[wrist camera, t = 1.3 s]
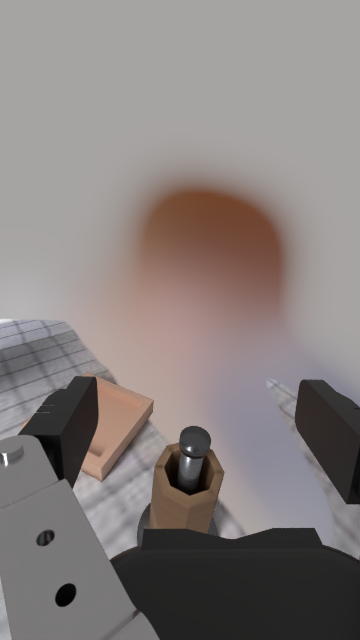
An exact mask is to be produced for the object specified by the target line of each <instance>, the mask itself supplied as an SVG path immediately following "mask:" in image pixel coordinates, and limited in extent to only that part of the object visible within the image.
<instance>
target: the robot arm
mask: <svg viewBox="0 0 360 640" xmlns="http://www.w3.org/2000/svg"><path fill="white" fill-rule="evenodd" d="M98 419H99V408H98V389H97V379H96V377H94V376H75V377H74V379H73V380H72V381H71V383H70V384H69V386H68V387H67V388H66V389H59V390H57V391H56V392H54V393H53V394H51V395H49V396H48V397H47V399H46V400H45V401H44V402H43V404H42V406H40V408H39V409H38V410H37V411H36V413H35V414H34V415H33V416H32V418H31V419H30V420H29V421H28V423H27V424H26V425H25V426H24V428H23V429H22V430H21V431H20V433H19V434H18V435H17V436H12V437H9V438H5V439H3V440H1V441H0V577H1V582H2V588H3V593H4V599H5V604H6V610H7V615H8V621H9V626H10V632H11V637H12V640H360V558H359V560H358V559H356V558H354V557H352V556H351V555H348V554H346V553H344V552H342V551H340V550H337V549H334V548H332V547H329V546H325V545H323V544H322V542H321V540H320V538H319V536H318V534H317V532H316V530H315V528H272V529H269V530H265V531H262V532H258V533H255V534H251V535H248V536H244V537H241V538H238V539H226V538H222V537H218V536H214V535H210V534H206V533H202V532H198V531H194V530H190V529H143V538H142V545H140V546H136V547H133V548H131V549H128V550H126V551H124V552H122V553H120V554H118V555H117V556H115V557H113V558H112V559H110V560H109V559H108V557H107V555H106V553H105V551H104V549H103V547H102V545H101V543H100V542H99V540H98V538H97V536H96V534H95V532H94V530H93V528H92V526H91V524H90V523H89V521H88V519H87V517H86V515H85V513H84V511H83V509H82V507H81V505H80V504H79V502H78V500H77V498H76V496H75V494H74V492H73V490H72V489H73V487H74V484H75V482H76V479H77V477H78V474H79V472H80V469H81V467H82V464H83V462H84V459H85V457H86V454H87V452H88V449H89V447H90V444H91V442H92V439H93V437H94V434H95V432H96V429H97V425H98ZM295 423H296V427H297V430H298V432H299V433H300V435H301V436H302V438H303V439H304V441H305V442H306V444H307V445H308V447H309V448H310V450H311V451H312V453H313V455H314V456H315V458H316V459H317V461H318V462H319V464H320V465H321V467H322V468H323V470H324V471H325V473H326V474H327V476H328V477H329V479H330V480H331V482H332V483H333V485H334V486H335V488H336V489H337V491H338V492H339V494H340V495H341V497H342V498H343V500H344V501H345V503H346V504H360V407H359V406H358V405H357V404H355V403H354V402H353V401H352V400H351V399H349V398H347V397H345V396H343V395H341V394H339V393H338V392H336V391H335V390H334V389H332V387H330V386H329V385H328V384H327V383H326V382H325V381H324V380H302V381H301V382H300V386H299V392H298V398H297V405H296V412H295Z"/></svg>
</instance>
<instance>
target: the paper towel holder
mask: <svg viewBox="0 0 360 640" xmlns="http://www.w3.org/2000/svg"><path fill="white" fill-rule="evenodd" d="M210 444H211V438H210V435H209V433H208V432H207V431H206V430H204V429H203V428H201V427H198V426H190V427H187V428H185V429H184V430H183V431H182V432H181V435H180V441H179V448H180V450H181V458H180V464H179V471H178V477H177V483H176V489H177V490H179V491H181V492H183V493H185V494H187V495H189V496H191V495H194V494H196V490H197V485H198V481H199V476H200V471H201V467H202V462H203V458H204V457H205V456H206V455H207V454H208V452H209V449H210ZM150 509H151V503H150V504H149V505H148V506H147V507H146V509H145V510H144V512H143V514H142V516H141V518H140V521H139V525H138V532H137V546H140V545H142V538H143V529H149V520H150ZM207 534H210V535H214V536H218V535H217V529H216V525H215V522H214V519H213V517H212V519H211V522H210V526H209V529H208V533H207Z"/></svg>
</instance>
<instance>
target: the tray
mask: <svg viewBox="0 0 360 640" xmlns="http://www.w3.org/2000/svg"><path fill="white" fill-rule="evenodd" d="M83 376H94V375H92V374H89V373H85V374H84V375H83ZM94 377H96V379H97V389H98V408H99V419H98V425H97V429H96V432H95V434H94V437H93V439H92V442H91V444H90V447H89V449H88V452H87V454H86V457H85V459H84V462H83V464H82V467H81V469H80V470H81V471H83V472H85V473H87V474H89V475H90V476H92V477H94V478H96V479H98V480H99V481H101V482H102V481H103V479H104V478H105V477H106V475H107V474H108V473H109V471H110V470H111V468H112V467H113V466H114V464H115V463H116V462H117V460H118V459H119V458H120V456H121V455H122V453H123V452H124V451H125V449H126V448H127V447H128V445H129V444H130V442H131V441H132V440H133V438H134V437H135V436H136V434H137V433H138V432H139V430H140V429H141V427H142V426H143V425H144V423H145V422H146V421H147V419H148V418H149V417H150V415H151V414H152V412H153V400H152V399H149V398H147V397H145V396H142V395H139V394H137V393H135V392H133V391H130V390H128V389H125V388H123V387H121V386H118V385H116V384H113V383H111V382H109V381H106V380H104V379H101V378H99V377H97V376H94ZM31 418H32V417H31ZM31 418H30V419H31ZM30 419H29V420H30ZM29 420H28V421H29ZM28 421H27V422H25V423H24V424H23V425H22V426H21V427H22V429H23V428H24V426H25V425H26V424H27V423H28Z"/></svg>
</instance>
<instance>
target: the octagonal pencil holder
mask: <svg viewBox="0 0 360 640" xmlns="http://www.w3.org/2000/svg"><path fill="white" fill-rule="evenodd" d="M180 458H181V450H180V448H179V443H176V444H172V445H168V446H166V448H165V449H164V451H163V453H162V455H161V456H160V458H159V460H158V461H157V463H156V465H155V468H154V478H153V488H152V499H151V509H150V520H149V529H190V530H194V531H198V532H202V533H206V534H207V533H208V529H209V526H210V522H211V519H212V515H213V512H214V508H215V505H216V501H217V498H218V494H219V490H220V486H221V483H222V480H223V476H224V471H223V469H222V467H221V465H220V463H219V461H218V460H217V458H216V456H215V454H214V452H213V450H211V449H209V452H208V454H207V455H206V456H205V457H204V458H203V462H202V467H201V471H200V476H199V481H198V485H197V490H196V494H194V495H191V496H189V495H187V494H185V493H183V492H181V491H179V490H177V489H176V483H177V477H178V471H179V464H180Z"/></svg>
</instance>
